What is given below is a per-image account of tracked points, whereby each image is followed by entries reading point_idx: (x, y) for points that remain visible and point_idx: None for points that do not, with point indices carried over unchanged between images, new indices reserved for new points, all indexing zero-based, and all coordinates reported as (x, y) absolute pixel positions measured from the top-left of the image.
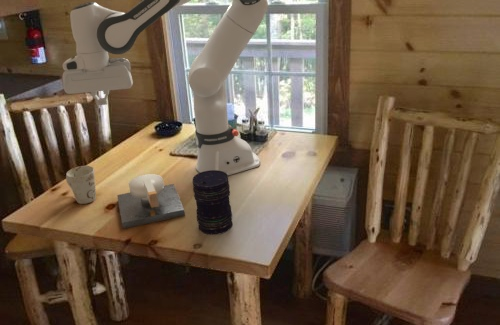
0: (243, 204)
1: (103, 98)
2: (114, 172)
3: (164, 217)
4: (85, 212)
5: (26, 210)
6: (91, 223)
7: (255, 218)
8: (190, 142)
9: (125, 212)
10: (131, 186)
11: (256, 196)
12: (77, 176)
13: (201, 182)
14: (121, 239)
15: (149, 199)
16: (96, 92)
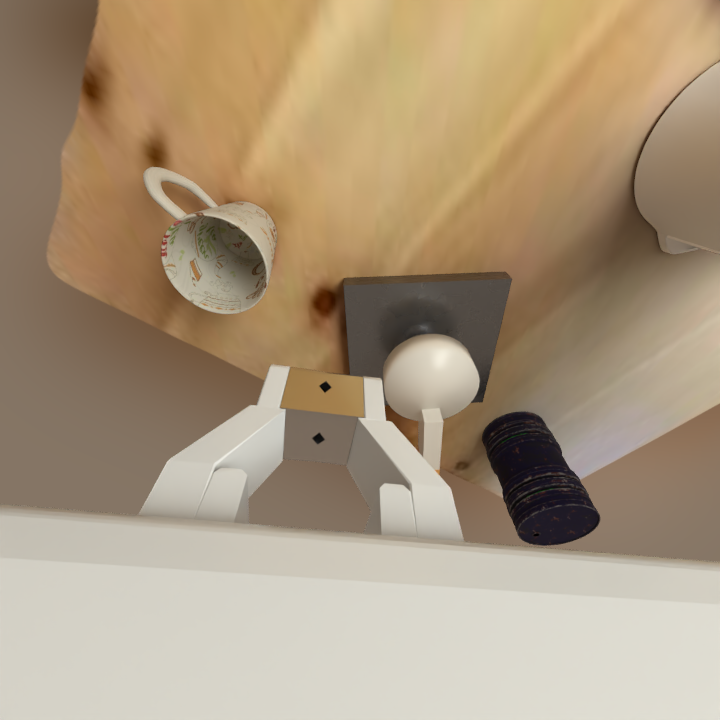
0: (601, 392)
1: (342, 431)
2: None
3: None
4: (261, 308)
5: (72, 234)
6: (285, 359)
7: (584, 435)
8: None
9: (361, 374)
10: (390, 399)
11: (648, 374)
12: (199, 217)
13: (532, 531)
14: None
15: None
16: (244, 519)
